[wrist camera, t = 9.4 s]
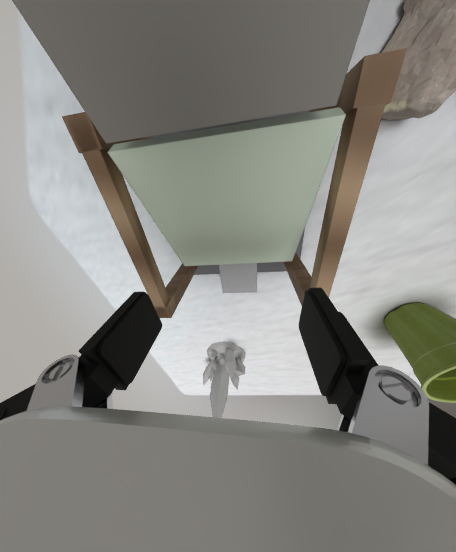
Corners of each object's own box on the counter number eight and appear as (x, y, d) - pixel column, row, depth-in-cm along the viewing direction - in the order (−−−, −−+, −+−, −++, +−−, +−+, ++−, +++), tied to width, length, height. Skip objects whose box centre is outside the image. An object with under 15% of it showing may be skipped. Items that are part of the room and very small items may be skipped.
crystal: (255, 343, 38) (259, 427, 26) (235, 369, 45) (231, 445, 33) (215, 331, 37) (200, 412, 25) (201, 360, 44) (184, 434, 32)
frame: (161, 147, 19) (61, 116, 9) (308, 125, 17) (407, 47, 7) (191, 263, 28) (157, 317, 17) (292, 258, 26) (325, 317, 15)
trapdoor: (36, -8, 6) (-24, -6, 5) (404, -129, 5) (477, -182, 3) (187, 253, 21) (183, 273, 20) (289, 247, 20) (293, 268, 18)
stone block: (218, 263, 21) (222, 292, 24) (256, 261, 21) (256, 292, 23) (223, 248, 25) (226, 275, 28) (255, 246, 25) (255, 274, 27)
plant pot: (376, 343, 34) (426, 408, 25) (362, 307, 30) (417, 371, 20) (450, 325, 30) (545, 395, 20) (448, 279, 25) (570, 344, 16)
